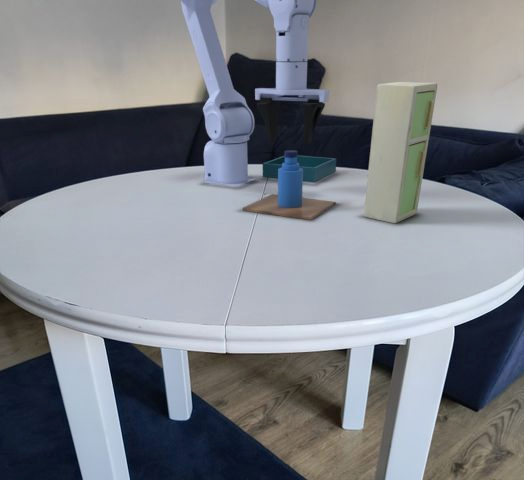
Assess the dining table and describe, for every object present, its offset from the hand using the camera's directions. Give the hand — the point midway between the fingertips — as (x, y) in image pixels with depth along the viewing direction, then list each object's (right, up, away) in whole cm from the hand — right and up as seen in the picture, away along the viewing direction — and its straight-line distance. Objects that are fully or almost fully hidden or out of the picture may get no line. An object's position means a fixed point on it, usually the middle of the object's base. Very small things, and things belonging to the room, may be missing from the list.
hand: (290, 142), depth 95 cm
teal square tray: (+4, +1, +21) cm, 21 cm away
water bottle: (0, -13, -3) cm, 14 cm away
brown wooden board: (0, -14, -3) cm, 14 cm away
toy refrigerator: (+18, -17, -8) cm, 26 cm away
